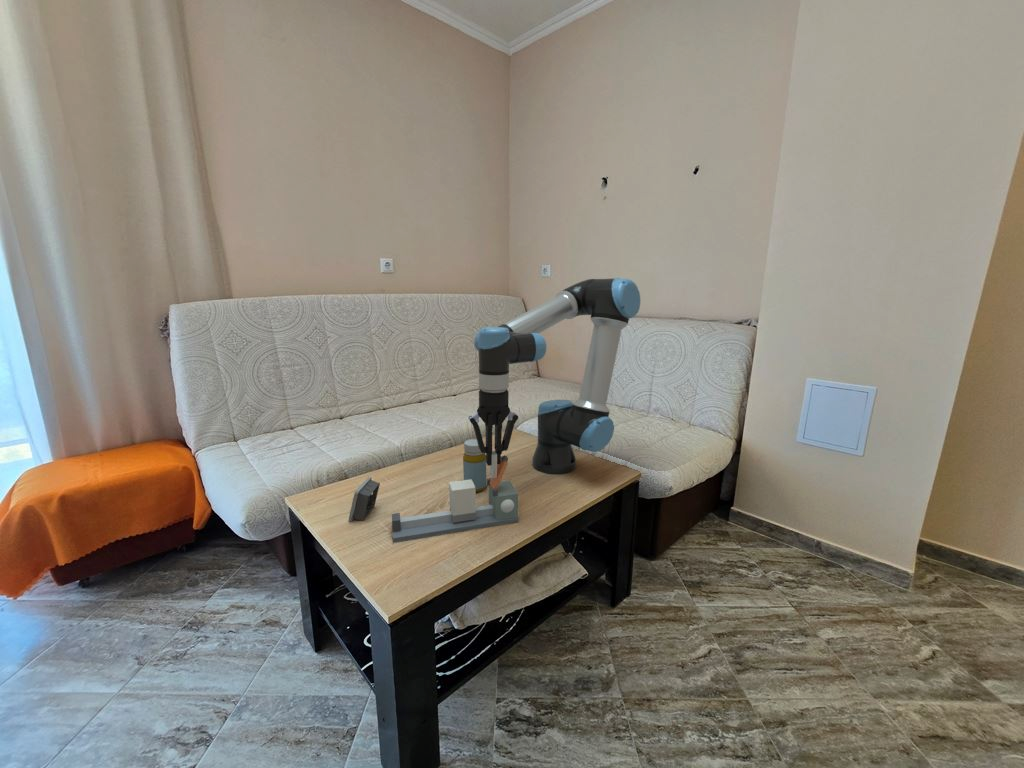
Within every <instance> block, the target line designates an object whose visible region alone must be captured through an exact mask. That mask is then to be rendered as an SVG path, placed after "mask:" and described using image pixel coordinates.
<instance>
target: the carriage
mask: <svg viewBox="0 0 1024 768" xmlns="http://www.w3.org/2000/svg"><path fill="white" fill-rule="evenodd" d="M448 484H449V488H448V489H449V490H448V491H449V511H452V520H453V523H456V522H462V521H468V520H475V519H476V507H477V502H476V500H477V498H476V497H477V496H476V494H477V492H476V490H475V486H474V483H473V481H472V479H470V480H464V479H462V480H455V481H449V483H448Z"/></svg>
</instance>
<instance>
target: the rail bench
mask: <svg viewBox="0 0 1024 768" xmlns="http://www.w3.org/2000/svg"><path fill="white" fill-rule="evenodd" d="M491 478H492V477H489V478H488V477H487V478H486V483H487V484H486V486H488V504H486V505H477V506H476V519H475V520H468V521H462V522H456V523H453V520H452V511H450V510H445V511H438V512H432V513H431V512H430V513H426V514H424V513H423V514H419V515H417V514H416V515H410V516H405V517H401V513H400V512H395V513H391V525H392V526H391V528H392V543H393V544H395V543H400V542H407V541H412V540H418V539H424V538H430V537H437V536H444V535H448V534H454V533H461V532H467V531H472V530H474V531H475V530H479V529H485V528H491V527H497V526H504V525H510V524H516V523H519V493H518V492H517V490H516V488H515V487H514V485H513V483H512V482H511V481H510V480H504V481H502V480H501V481H500V483H499V486H498V488H497V489H493V488H492V486H491V485H490V480H491Z"/></svg>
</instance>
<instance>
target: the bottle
mask: <svg viewBox="0 0 1024 768" xmlns="http://www.w3.org/2000/svg"><path fill="white" fill-rule="evenodd" d="M483 443H484V447H486V441H484V440H483ZM463 445H464V446H463V449H464V453H463V458H462V462H463V465H462V466H463V467H462V468H463V480H470V479H472V481H473V483H474V486H475V490H476V493H480V492H482V491H484V490H486V488H487V463H486V453H482V452H481V451H480V449H479V446H478V443H477V439H476V438H470V439H466V440H465V441H464V443H463Z"/></svg>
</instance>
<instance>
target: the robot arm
mask: <svg viewBox="0 0 1024 768" xmlns="http://www.w3.org/2000/svg"><path fill="white" fill-rule="evenodd" d="M640 307H641V293H640V291H639V288H638V286H637V283H636V282H634V281H633V280H632V279H629V278H620V277H614V278H589V279H588V278H587V279H586V280H582V281H579V282H577V283H574V284H572V285H570V286H569V287H566V288H563V290H560V291H558V292H557V293H556V295H555V297H553V298H552V299H550V300H548V301H546V302H544V303H541V304H539V305H537V306H535V307H534V308H531V309H530V310H528V311H526V312H524V313H521V314H520V315H519V316H516V317H514V318H512V319H510V320H509V321H507V322H504V323H503V324H500V325H498V326H488V327H487V326H486V327H483V328H480V330H479V331H478V332H477V333H475V336H474V347H475V350H476V351H477V352H478V388H479V391H478V407H477V410H476V413H475V414H473V415H469V416H468V421H469V422H470V423H471V425H472V427H473V431H474V434H475V439H477V443H478V446H479V449H480V451H481V452H482V453H485V455H486V466H488V467H489V476H490V478H497V465H498V464H500V463H501V455H502V452H504V451H505V452H507V451H508V450H509V446H510V442H511V438H512V435H513V432H514V427H515V424H516V422H517V421H518V420H519V416H518V415H517V414H516V413H515V412H512V411H511V408H510V407H509V392H510V391H509V390H508V389H509V387H510V386H509V385H510V384H509V381H510V379H509V377H510V365H513V364H521V363H533V362H535V361H540V360H542V359H543V358H544V357H545V355H546V353H547V342H546V339H545V338H544V336H543V335H542V334H541V333H543V332H544V331H546V330H547V329H550V328H551V327H553V326H554V325H557V324H559V323H560V322H562V321H564V320H572V319H574V318H576V317H578V316H579V317H580V316H590V321H591V323H593V328H592V334H591V339H590V343H589V347H588V353H587V354H588V355H587V358H586V363H585V368H584V374H583V378H582V383H581V388H580V392H579V397H578V399H577V400H576V401H574V402H573V401H572V400H569V399H550V400H546V401H542V402H541V403H539V405H538V411H537V445H536V447H535V450H534V453H533V456H532V461H531V462H532V467H533V468H534V469H535V470H537V471H539V472H541V473H545V474H552V475H555V474H556V475H558V474H559V475H560V474H566V473H570V472H572V471H574V470H575V469H576V466H577V465H576V463H577V459H576V455H575V452H574V449H573V446H574V447H578V448H580V449H581V450H584V451H589V452H592V453H597V452H601V451H602V450H603V449H604V448H605V447H607V446H608V445H609V443H610V442H611V440H612V438H613V435H614V431H615V424H614V421H613V420H612V418H611V417H610V412H611V411H610V409H609V408H608V406H607V401H608V397H609V392H610V387H611V384H612V383H611V382H612V378H613V374H614V373H613V372H614V367H615V363H616V358H617V353H618V349H619V344H620V340H621V339H620V338H621V335H622V330H623V329H625V328H626V327H627V326H629V325H628V324H629V321H630V319H633V318H635V317H636V316H637V314H638V313H639V311H640ZM479 418H480V419H481V421H482V422H483V423H484V426H485V447H484V443H483V441H484V439H483V437H482V436H483V435H482V432H481V429H480V425H479V422H480V419H479ZM506 419H507V422H506V425H505V429H504V433H502V430H503V423H504V422H505V420H506ZM493 429H494V450H493ZM502 435H503V437H502Z"/></svg>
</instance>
